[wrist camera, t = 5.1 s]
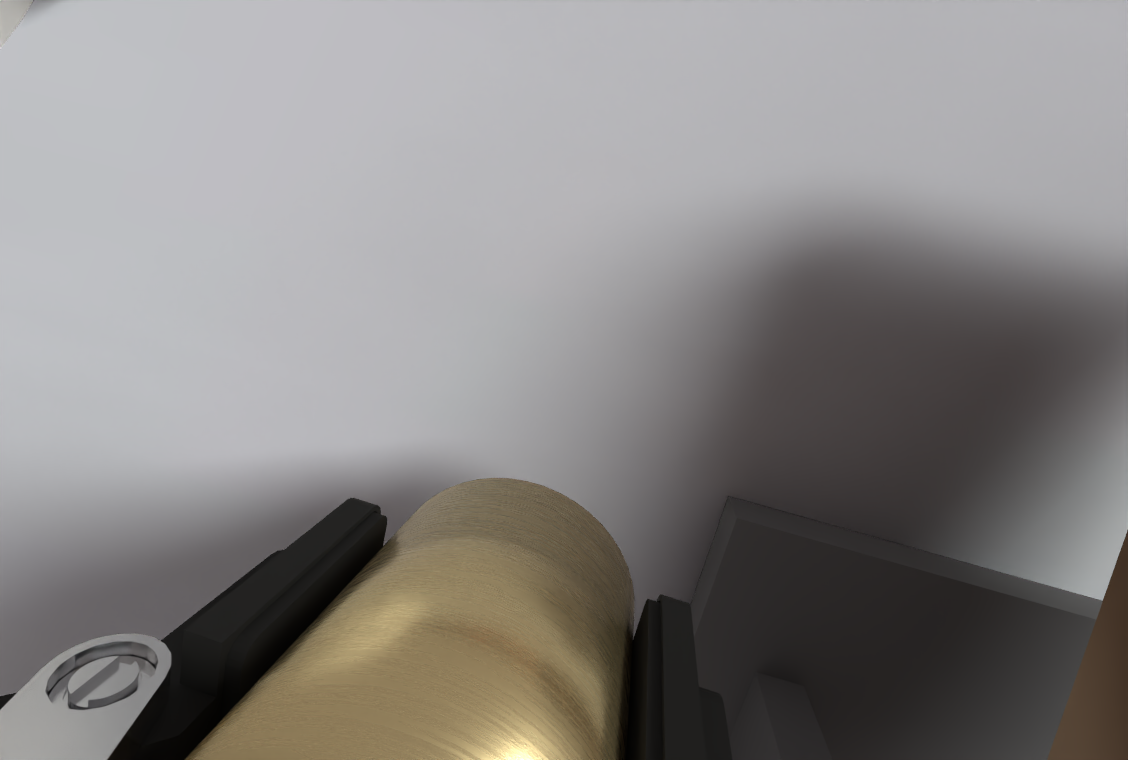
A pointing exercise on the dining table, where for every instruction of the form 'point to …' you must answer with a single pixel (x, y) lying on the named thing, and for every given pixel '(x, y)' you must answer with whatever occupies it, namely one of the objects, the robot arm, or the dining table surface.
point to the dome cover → (11, 16)
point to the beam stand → (878, 646)
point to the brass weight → (458, 644)
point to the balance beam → (1100, 683)
